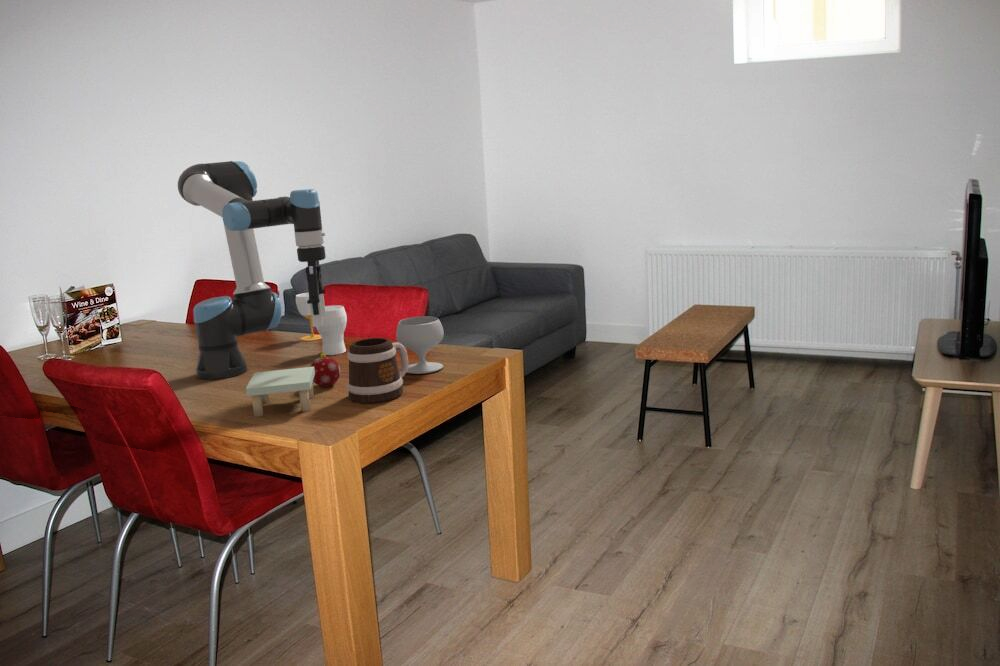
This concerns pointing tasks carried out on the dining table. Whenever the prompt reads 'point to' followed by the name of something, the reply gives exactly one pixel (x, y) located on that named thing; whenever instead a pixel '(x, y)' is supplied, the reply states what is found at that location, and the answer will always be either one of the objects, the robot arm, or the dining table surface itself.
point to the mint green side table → (281, 386)
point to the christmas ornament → (325, 370)
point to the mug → (375, 370)
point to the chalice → (420, 340)
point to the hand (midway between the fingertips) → (319, 321)
